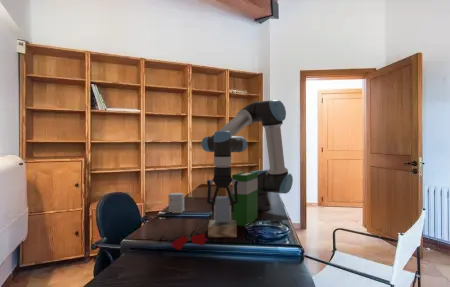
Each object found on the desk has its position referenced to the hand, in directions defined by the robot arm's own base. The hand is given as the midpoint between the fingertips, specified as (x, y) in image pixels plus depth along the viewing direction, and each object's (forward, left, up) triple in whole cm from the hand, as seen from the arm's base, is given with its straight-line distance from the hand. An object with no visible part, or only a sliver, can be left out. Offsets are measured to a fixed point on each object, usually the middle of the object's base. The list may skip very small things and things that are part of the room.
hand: (222, 219), depth 129 cm
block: (0, 0, 0) cm, 0 cm away
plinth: (0, 0, -6) cm, 6 cm away
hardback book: (-11, -19, -6) cm, 23 cm away
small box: (+27, -39, -6) cm, 48 cm away
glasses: (+16, +12, -6) cm, 21 cm away
